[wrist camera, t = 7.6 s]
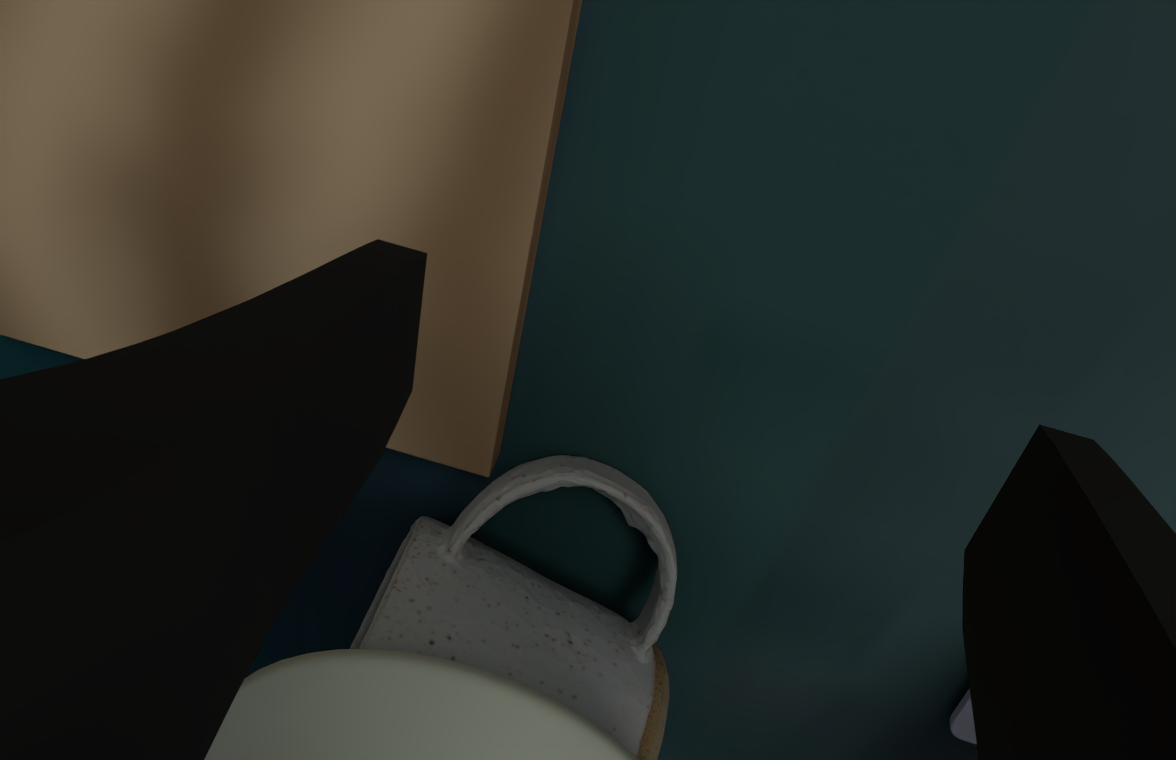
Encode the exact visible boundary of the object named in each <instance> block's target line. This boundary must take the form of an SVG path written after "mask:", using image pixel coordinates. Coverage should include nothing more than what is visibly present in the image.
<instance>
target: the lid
mask: <svg viewBox="0 0 1176 760" xmlns="http://www.w3.org/2000/svg"><path fill="white" fill-rule="evenodd" d="M204 760H639V759H638V758H637V757H636V756H635V755H634V754H633V753H632V752H630V751H629V750H628V749H627V748H626V747H625V746H623V745H622V744H621V743H620V742H619V741H618V740H616V739H615V738H614V737H613V736H612V735H610V734H609V733H608V732H606V731H605V730H603V729H602V728H600V727H599V726H597V725H596V724H595V723H593V722H592V721H590V720H589V719H587V718H586V717H584V716H583V715H581V714H580V713H578V712H576V711H574V710H573V709H571V708H569V707H567V706H566V705H564V704H562V703H560V702H559V701H557V700H555V699H553V698H551V697H550V696H547V695H545V694H543V693H541V692H539V691H536V690H534V689H532V688H530V687H528V686H526V685H523V684H521V683H519V682H517V681H514V680H512V679H509V678H506V677H503V676H500V675H498V674H495V673H492V672H489V671H486V670H484V669H481V668H478V667H474V666H470V665H466V664H463V663H459V662H455V661H451V660H448V659H444V658H439V657H433V656H427V655H422V654H416V653H410V652H403V651H391V650H379V649H337V650H329V651H321V652H313V653H307V654H303V655H299V656H295V657H291V658H287V659H283V660H280V661H278V662H276V663H273V664H271V665H268V666H266V667H264V668H261V669H259V670H257V671H256V672H254V673H253V674H251V675H249V676H248V677H246V678H245V679H244V681H243V683H242V684H241V686H240V688H239V690H238V692H237V694H236V696H235V698H234V700H233V702H232V704H231V706H230V708H229V710H228V712H227V714H226V716H225V718H224V720H223V723H222V725H221V727H220V729H219V731H218V733H217V735H216V737H215V739H214V741H213V743H212V745H211V747H210V749H209V751H208V753H207V755H206V757H205V759H204Z"/></svg>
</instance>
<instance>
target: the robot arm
mask: <svg viewBox="0 0 1176 760" xmlns="http://www.w3.org/2000/svg"><path fill="white" fill-rule="evenodd" d="M426 260H427V253H425V252H422V251H418V250H415V249H411V248H408V247H404V246H400V245H397V244H393V243H390V242H386V241H383V240H379V239H377V240H375V241H372V242H370V243H367V244H365V245H363V246H361V247H359V248H357V249H354V250H352V251H350V252H348V253H346V254H344V255H342V256H340V257H338V258H336V259H334V260H332V261H330V262H328V263H326V264H324V265H322V266H320V267H318V268H316V269H313V270H311V271H309V272H307V273H305V274H303V275H301V276H299V277H297V278H295V279H293V280H290V281H288V282H286V283H284V284H282V285H280V286H278V287H276V288H273V289H271V290H269V291H267V292H265V293H263V294H261V295H258V296H256V297H254V298H252V299H250V300H247V301H245V302H243V303H240V304H238V305H235V306H233V307H230V308H228V309H225V310H223V311H221V312H218V313H216V314H213V315H211V316H208V317H206V318H203V319H201V320H199V321H196V322H194V323H191V324H189V325H186V326H184V327H181V328H179V329H177V330H174V331H171V332H168V333H166V334H163V335H160V336H157V337H154V338H151V339H148V340H145V341H142V342H140V343H137V344H134V345H130V346H127V347H124V348H121V349H117V350H114V351H111V352H107V353H104V354H101V355H98V356H94V357H91V358H88V359H84V360H80V361H77V362H73V363H69V364H65V365H61V366H57V367H52V368H48V369H44V370H39V371H35V372H31V373H26V374H22V375H18V376H13V377H9V378H5V379H0V760H204V759H205V757H206V755H207V753H208V751H209V749H210V747H211V745H212V743H213V741H214V739H215V737H216V735H217V733H218V731H219V729H220V727H221V725H222V723H223V720H224V718H225V716H226V714H227V712H228V710H229V708H230V706H231V704H232V702H233V700H234V698H235V696H236V694H237V692H238V690H239V688H240V686H241V684H242V683H243V681H244V679H245V677H246V675H247V673H248V671H249V669H250V667H251V665H252V663H253V661H254V659H255V657H256V655H257V653H258V651H259V650H260V648H261V646H262V644H263V642H264V640H265V638H266V636H267V634H268V632H269V630H270V628H271V626H272V625H273V623H274V621H275V620H276V618H277V616H278V615H279V613H280V611H281V610H282V608H283V606H284V605H285V603H286V601H287V600H288V598H289V596H290V595H291V593H292V592H293V590H294V589H295V587H296V586H297V584H298V582H299V581H300V579H301V578H302V576H303V575H304V573H305V572H306V570H307V569H308V567H309V566H310V564H311V563H312V561H313V560H314V558H315V557H316V555H317V554H318V552H319V551H320V549H321V548H322V546H323V545H324V543H325V542H326V540H327V539H328V537H329V536H330V534H331V533H332V531H333V530H334V528H335V527H336V525H337V524H338V522H339V521H340V519H341V518H342V516H343V515H344V513H345V512H346V510H347V509H348V507H349V505H350V504H351V502H352V501H353V499H354V498H355V496H356V495H357V493H358V492H359V490H360V489H361V487H362V486H363V484H364V482H365V481H366V479H367V478H368V476H369V475H370V473H371V472H372V470H373V469H374V467H375V465H376V464H377V462H378V461H379V459H380V458H381V456H382V454H383V452H384V450H385V448H386V446H387V444H388V442H389V439H390V437H391V435H392V433H393V431H394V429H395V427H396V425H397V423H398V421H399V419H400V416H401V414H402V412H403V410H404V408H405V406H406V403H407V401H408V399H409V397H410V395H411V393H412V390H413V381H414V372H415V363H416V353H417V344H418V335H419V325H420V316H421V307H422V298H423V288H424V279H425V270H426ZM963 636H964V646H965V655H966V663H967V671H968V680H969V690H968V691H967V693H966V694H965V696H964V697H963V699H962V700H961V701H960V703H959V704H958V706H957V707H956V709H955V710H954V712H953V713H952V715H951V717H950V729H951V732H952V734H953V735H954V736H955V737H957V738H959V739H961V740H964V741H967V742H970V743H974V744H977V750H978V757H979V760H1176V534H1175V532H1174V531H1173V530H1172V529H1171V528H1170V527H1169V525H1168V524H1167V523H1166V522H1165V521H1164V519H1163V518H1162V517H1161V516H1160V515H1159V513H1158V512H1157V511H1156V510H1155V509H1154V507H1153V506H1152V505H1151V504H1150V503H1149V501H1148V500H1147V499H1146V498H1145V497H1144V495H1143V494H1142V493H1141V492H1140V491H1139V489H1138V488H1137V487H1136V486H1135V485H1134V484H1133V482H1132V481H1131V480H1130V479H1129V478H1128V477H1127V475H1126V474H1125V473H1124V472H1123V471H1122V470H1121V468H1120V467H1119V466H1118V465H1117V464H1116V463H1115V462H1114V460H1113V459H1112V458H1111V457H1110V456H1109V455H1108V454H1107V453H1106V452H1105V451H1104V450H1103V449H1102V448H1101V447H1100V446H1099V445H1098V444H1097V443H1096V442H1095V441H1094V440H1092V439H1089V438H1085V437H1082V436H1078V435H1074V434H1071V433H1067V432H1064V431H1060V430H1057V429H1053V428H1049V427H1046V426H1042V425H1039V426H1038V428H1037V430H1036V431H1035V433H1034V435H1033V436H1032V438H1031V440H1030V441H1029V443H1028V445H1027V446H1026V448H1025V450H1024V451H1023V453H1022V455H1021V456H1020V458H1019V460H1018V461H1017V463H1016V465H1015V466H1014V468H1013V470H1012V471H1011V473H1010V475H1009V476H1008V478H1007V480H1006V482H1005V483H1004V485H1003V487H1002V488H1001V490H1000V492H999V493H998V495H997V497H996V498H995V500H994V502H993V503H992V505H991V507H990V508H989V510H988V512H987V513H986V515H985V517H984V518H983V520H982V522H981V523H980V525H979V527H978V528H977V530H976V532H975V533H974V535H973V537H972V539H971V540H970V542H969V544H968V545H967V547H966V549H965V553H964V577H963Z"/></svg>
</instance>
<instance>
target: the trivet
mask: <svg viewBox="0 0 1176 760" xmlns="http://www.w3.org/2000/svg"><path fill="white" fill-rule="evenodd" d="M581 5H582V0H0V334H1V335H4V336H8V337H11V338H14V339H18V340H21V341H25V342H28V343H31V344H35V345H38V346H42V347H45V348H48V349H52V350H55V351H59V352H62V353H66V354H69V355H72V356H76V357H79V358H83V359H88V358H91V357H94V356H98V355H101V354H104V353H107V352H111V351H114V350H117V349H121V348H124V347H127V346H130V345H134V344H137V343H140V342H142V341H145V340H148V339H151V338H154V337H157V336H160V335H163V334H166V333H168V332H171V331H174V330H177V329H179V328H181V327H184V326H186V325H189V324H191V323H194V322H196V321H199V320H201V319H203V318H206V317H208V316H211V315H213V314H216V313H218V312H221V311H223V310H225V309H228V308H230V307H233V306H235V305H238V304H240V303H243V302H245V301H247V300H250V299H252V298H254V297H256V296H258V295H261V294H263V293H265V292H267V291H269V290H271V289H273V288H276V287H278V286H280V285H282V284H284V283H286V282H288V281H290V280H293V279H295V278H297V277H299V276H301V275H303V274H305V273H307V272H309V271H311V270H313V269H316V268H318V267H320V266H322V265H324V264H326V263H328V262H330V261H332V260H334V259H336V258H338V257H340V256H342V255H344V254H346V253H348V252H350V251H352V250H354V249H357V248H359V247H361V246H363V245H365V244H367V243H370V242H372V241H375V240H377V239H379V240H383V241H386V242H390V243H393V244H397V245H400V246H404V247H408V248H411V249H415V250H418V251H422V252H425V253H427V260H426V270H425V279H424V288H423V298H422V307H421V316H420V325H419V335H418V344H417V353H416V363H415V372H414V381H413V390H412V393H411V395H410V397H409V399H408V401H407V403H406V406H405V408H404V410H403V412H402V414H401V416H400V419H399V421H398V423H397V425H396V427H395V429H394V431H393V433H392V435H391V437H390V439H389V442H388V444H387V446H386V448H390V449H393V450H397V451H400V452H403V453H407V454H410V455H414V456H417V457H421V458H424V459H427V460H431V461H434V462H438V463H441V464H444V465H448V466H451V467H455V468H458V469H462V470H465V471H468V472H472V473H475V474H479V475H482V476H485V477H489V476H490V474H491V472H492V469H493V467H494V465H495V463H496V461H497V458H498V456H499V454H500V449H501V444H502V438H503V433H504V427H505V422H506V416H507V411H508V405H509V400H510V394H511V389H512V383H513V378H514V372H515V367H516V361H517V356H518V350H519V345H520V339H521V334H522V328H523V323H524V317H525V312H526V306H527V301H528V295H529V290H530V284H531V279H532V273H533V268H534V262H535V257H536V252H537V246H538V241H539V235H540V230H541V224H542V219H543V213H544V208H545V202H546V197H547V191H548V186H549V180H550V175H551V169H552V164H553V158H554V153H555V147H556V142H557V136H558V131H559V125H560V120H561V114H562V109H563V103H564V98H565V92H566V87H567V81H568V76H569V70H570V65H571V60H572V54H573V49H574V43H575V38H576V32H577V27H578V21H579V16H580V10H581Z"/></svg>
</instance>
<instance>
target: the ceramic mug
mask: <svg viewBox="0 0 1176 760" xmlns="http://www.w3.org/2000/svg"><path fill="white" fill-rule="evenodd" d="M561 486H564V487H572V486H586V487H589V488H592V489H594V490H595V491H597V492H598V493H600V494H602V495H604V496H605V497H607V498H609V499H611V500H612V501H613V502H614V503H615V504H616V505H617V506H618V507H619V508H620V509H621V510H622V512H623V514H624V517H625V519H626V521H627V523H628V525H629V526H632V527H635V528H637V529H638V530H640V531H641V532H642V533H644V535H645V537H646V539H647V541H648V544H649V545H650V547H651V548H652V550H653V551H654V552H655V553H656V554H657V555H658V562H659V563H658V569H657V571H656V573H655V582H654V585H653V587H652V590H651V592H650V595H649V598H648V601H647V603H646V605H645V606H644V608H643V610H642V612H641V614H640V615H639V617H638V618H637V619H636V620H635V621H634V622H628V621H627V620H626V619H625V618H623V617H622V616H620V615H619V614H617V613H615V612H614V611H612V610H610V609H608V608H606V607H604V606H602V605H600V604H598V603H596V602H594V601H592V600H590V599H588V598H586V597H584V596H582V595H580V594H578V593H576V592H573V591H571V590H569V589H567V588H565V587H563V586H561V585H559V584H557V583H555V582H553V581H551V580H549V579H547V578H545V577H543V576H542V575H540V574H538V573H536V572H535V571H533V570H531V569H530V568H528V567H526V566H524V565H523V564H521V563H519V562H517V561H515V560H513V559H511V558H510V557H508V556H506V555H504V554H502V553H500V552H499V551H497V550H495V549H493V548H491V547H488V546H486V545H484V544H483V543H481V542H479V541H477V540H476V539H474V538H472V537H470V536H471V535H472V534H473V533H474V532H476V531H477V530H479V528H480V527H481V526H482V525H483V524H484V523H485V522H486V521H488V520H489V519H490V518H491V517H492V516H494V515H495V514H496V513H497V512H498V511H500V510H501V509H502V508H503V507H505V506H506V505H508V504H510V503H512V502H513V501H515V500H517V499H520V498H523V497H526V496H529V495H532V494H535V493H538V492H541V491H544V492H547V491H550V490H553V489H556V488H558V487H561ZM676 580H677V559H676V550H675V546H674V542H673V539H672V535H671V531H670V529H669V526H668V524H667V521H666V519H665V516H664V515H663V513H662V512H661V510H660V509H659V507H658V506H657V504H656V503H655V501H654V500H653V499H652V497H651V496H650V495H649V493H648V492H647V491H646V490H645V489H644V488H642V487H641V486H640V485H639V484H638V483H636V482H635V481H633V480H632V479H631V478H629V477H628V476H626V475H624V474H623V473H621V472H620V471H618V470H616V469H614V468H612V467H610V466H608V465H605V464H603V463H600V462H597V461H595V460H592V459H589V458H586V457H577V456H568V455H557V456H550V457H546V458H541V459H537V460H533V461H529V462H526V463H523V464H521V465H518V466H516V467H515V468H513V469H511V470H509V471H507V472H506V473H504V474H503V475H501V476H500V477H498V478H497V479H495V480H494V481H493V482H492V483H490V484H489V485H488V486H487V487H486V488H485V489H484V490H483V491H481V492H480V493H479V494H478V495H477V496H476V497H475V499H474V500H473V501H472V502H471V503H470V504H469V505H468V506H467V507H466V508H465V509H464V510H463V511H462V512H461V514H460V515H459V517H458V518H457V520H456V521H455V523H454V524H453V525H452V526H451V527H450V526H448V525H446V524H444V523H442V522H440V521H437V520H435V519H433V518H430V517H428V516H421V517H419V518H418V519H417V520H416V521H415V522H414V523H413V524H412V526H411V529H410V531H409V533H408V535H407V537H406V538H405V539H404V541H403V542H402V544H401V546H400V548H399V550H398V552H397V554H396V556H395V558H394V560H393V562H392V564H391V566H390V568H389V569H388V570H387V572H386V575H385V578H384V580H383V582H382V583H381V585H380V587H379V590H378V592H377V594H376V596H375V598H374V600H373V602H372V604H371V606H370V608H369V610H368V612H367V614H366V616H365V618H364V620H363V622H362V625H361V627H360V629H359V631H358V633H357V635H356V637H355V639H354V641H353V643H352V644H351V646H350V649H379V650H391V651H403V652H410V653H416V654H422V655H427V656H433V657H439V658H444V659H448V660H451V661H455V662H459V663H463V664H466V665H470V666H474V667H478V668H481V669H484V670H486V671H489V672H492V673H495V674H498V675H500V676H503V677H506V678H509V679H512V680H514V681H517V682H519V683H521V684H523V685H526V686H528V687H530V688H532V689H534V690H536V691H539V692H541V693H543V694H545V695H547V696H550V697H551V698H553V699H555V700H557V701H559V702H560V703H562V704H564V705H566V706H567V707H569V708H571V709H573V710H574V711H576V712H578V713H580V714H581V715H583V716H584V717H586V718H587V719H589V720H590V721H592V722H593V723H595V724H596V725H597V726H599V727H600V728H602V729H603V730H605V731H606V732H608V733H609V734H610V735H612V736H613V737H614V738H615V739H616V740H618V741H619V742H620V743H621V744H622V745H623V746H625V747H626V748H627V749H628V750H629V751H630V752H632V753H633V754H634V755H635V756H636V757H637V758H638V759H639V760H657V758H658V754H659V751H660V747H661V744H662V740H663V735H664V729H665V723H666V717H667V712H668V704H669V677H668V673H667V669H666V665H665V662H664V658H663V655H662V652H661V650H660V648H659V647H658V645H657V644H656V641H657V639H658V637H659V635H660V633H661V631H662V630H663V628H664V627H665V626H666V624H667V619H668V616H669V613H670V611H671V608H672V606H673V602H674V595H675V587H676Z"/></svg>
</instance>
